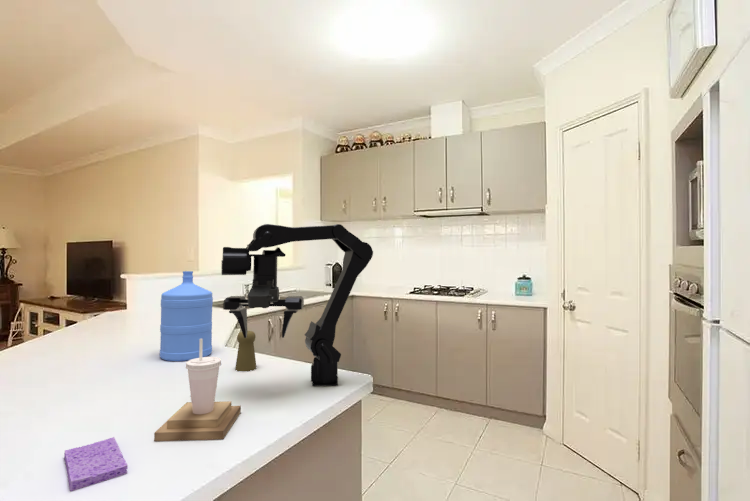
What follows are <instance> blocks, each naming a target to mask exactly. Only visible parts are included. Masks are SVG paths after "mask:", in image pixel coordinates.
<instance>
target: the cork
mask: <svg viewBox="0 0 750 501" xmlns="http://www.w3.org/2000/svg"><path fill="white" fill-rule="evenodd" d="M236 340H237V342H238V348H237V356H236V361H235V368H234V370H235V371H236V370H237V371H236V372H239V371H247V372H251V371H250V370H252V371H255V370H257V368H256V367H257V360H256V353H255V351H256V350H255V346H254V343H255V341H256V333H255V332H254V331H252V330H247V337H246V338H244V336H243V333H242V331H240V332H238V334H237V335H236ZM254 369H255V370H254Z"/></svg>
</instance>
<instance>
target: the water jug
mask: <svg viewBox="0 0 750 501" xmlns="http://www.w3.org/2000/svg"><path fill="white" fill-rule="evenodd" d="M193 273H194V271H191V270H188V271H187V270H185V271H182V277H181V278H182V282H181V284H179V285H177V286H175V287H172V288H170V289H168V290H166V291H164V292H161V293H162V294H161V298H160V325H159V326H160V327H159V330H160V331H159V332H160V343H159V344H160V349H159V358H160V359H162V360H164V361H168V362H169V361H170V362H187V361H189V360H191V359H195V358H199V344H200V339H203V350H202V357H209V356H210V355H211V353H213V352H212V351H213V345H212V344H213V343H212V342H213V341H212V337H213V335H212V334H213V332H212V330H213V321H212V320H213V318H212V317H213V302H214V298H213V292H212V291H211V290H208V289H206V288H204V287H202V286H199V285H197V284H195V283H194V281H193V280H194V275H193Z"/></svg>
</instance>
